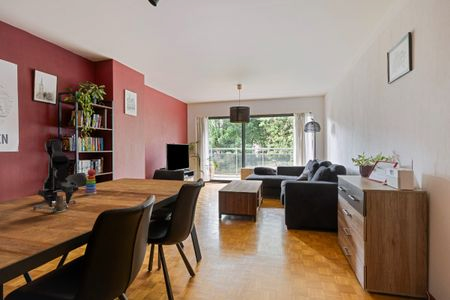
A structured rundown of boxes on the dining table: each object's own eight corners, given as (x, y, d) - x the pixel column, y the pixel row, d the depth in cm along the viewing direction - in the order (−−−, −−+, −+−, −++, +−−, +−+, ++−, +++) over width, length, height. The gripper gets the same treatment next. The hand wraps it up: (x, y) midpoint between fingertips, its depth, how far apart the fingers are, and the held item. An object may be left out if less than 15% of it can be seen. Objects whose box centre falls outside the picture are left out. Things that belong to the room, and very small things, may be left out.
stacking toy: (91, 195, 172) (91, 169, 172) (81, 195, 174) (81, 169, 173) (99, 193, 180) (99, 168, 180) (89, 193, 181) (90, 168, 181)
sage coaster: (51, 211, 130) (51, 211, 130) (60, 209, 135) (60, 208, 135) (57, 212, 128) (57, 212, 128) (67, 210, 133) (67, 209, 133)
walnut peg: (54, 210, 131) (54, 196, 131) (60, 209, 134) (60, 195, 134) (58, 211, 130) (58, 196, 129) (64, 210, 133) (64, 195, 132)
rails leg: (33, 209, 133) (33, 205, 133) (48, 206, 141) (48, 202, 141) (53, 213, 127) (53, 208, 127) (68, 209, 135) (68, 205, 135)
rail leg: (32, 209, 134) (32, 205, 134) (67, 202, 152) (67, 198, 152) (42, 211, 131) (42, 207, 131) (76, 203, 149) (76, 199, 149)
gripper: (51, 180, 120) (51, 211, 120) (85, 176, 137) (85, 203, 137) (37, 179, 124) (37, 209, 124) (71, 175, 141) (71, 201, 141)
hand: (59, 205), depth 132 cm, fingers open, 9 cm apart
